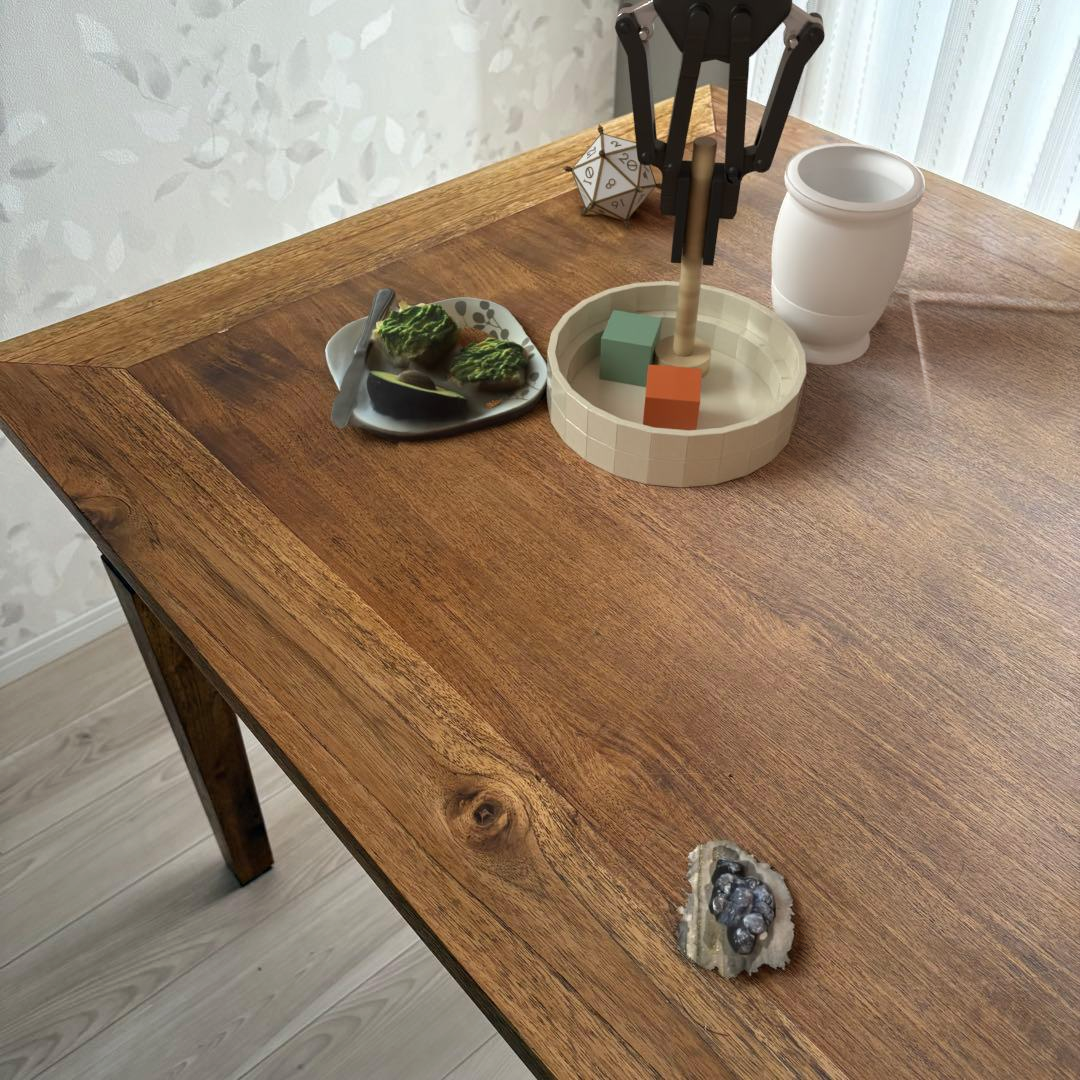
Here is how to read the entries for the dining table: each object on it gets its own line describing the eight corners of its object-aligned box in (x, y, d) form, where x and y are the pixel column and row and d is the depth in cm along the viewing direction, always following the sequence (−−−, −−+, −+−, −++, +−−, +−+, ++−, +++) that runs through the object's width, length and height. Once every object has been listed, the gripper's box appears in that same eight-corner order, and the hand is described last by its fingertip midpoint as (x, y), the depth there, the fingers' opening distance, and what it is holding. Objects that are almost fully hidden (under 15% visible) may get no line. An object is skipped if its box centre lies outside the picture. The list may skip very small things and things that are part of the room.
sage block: (658, 358, 91) (662, 317, 88) (648, 387, 88) (651, 346, 85) (610, 350, 91) (613, 309, 89) (599, 379, 89) (601, 337, 86)
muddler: (707, 350, 89) (735, 127, 76) (711, 383, 86) (741, 156, 73) (652, 349, 90) (671, 126, 76) (654, 382, 86) (674, 155, 73)
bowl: (790, 347, 93) (801, 290, 89) (797, 504, 80) (811, 446, 76) (562, 328, 95) (563, 272, 91) (532, 480, 81) (532, 422, 77)
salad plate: (292, 324, 95) (284, 278, 91) (491, 285, 99) (489, 239, 96) (344, 468, 82) (337, 419, 79) (569, 415, 86) (571, 367, 83)
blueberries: (687, 994, 55) (691, 978, 54) (647, 849, 61) (649, 832, 59) (817, 970, 56) (824, 953, 55) (765, 829, 61) (770, 811, 60)
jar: (872, 388, 89) (919, 219, 78) (745, 363, 91) (773, 195, 81) (888, 316, 96) (932, 152, 85) (769, 294, 98) (798, 131, 88)
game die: (628, 245, 111) (697, 171, 105) (590, 255, 104) (662, 176, 98) (570, 178, 112) (636, 101, 106) (530, 183, 105) (598, 101, 99)
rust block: (696, 410, 86) (701, 368, 83) (694, 443, 83) (700, 401, 80) (644, 405, 86) (648, 364, 84) (641, 439, 84) (645, 397, 81)
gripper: (602, -92, 62) (587, 274, 79) (868, -79, 61) (795, 290, 78) (613, -131, 67) (597, 221, 84) (858, -120, 66) (792, 234, 83)
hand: (692, 253), depth 81 cm, fingers closed on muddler, 2 cm apart
